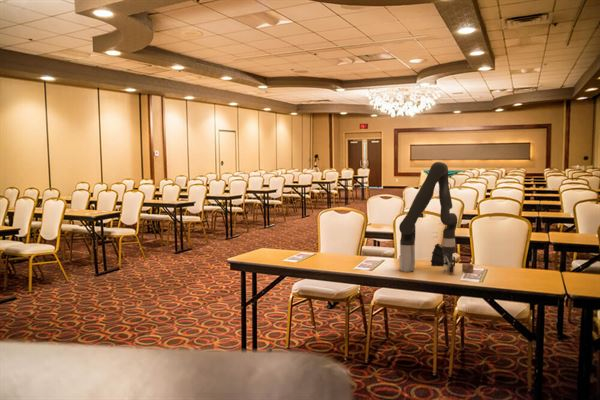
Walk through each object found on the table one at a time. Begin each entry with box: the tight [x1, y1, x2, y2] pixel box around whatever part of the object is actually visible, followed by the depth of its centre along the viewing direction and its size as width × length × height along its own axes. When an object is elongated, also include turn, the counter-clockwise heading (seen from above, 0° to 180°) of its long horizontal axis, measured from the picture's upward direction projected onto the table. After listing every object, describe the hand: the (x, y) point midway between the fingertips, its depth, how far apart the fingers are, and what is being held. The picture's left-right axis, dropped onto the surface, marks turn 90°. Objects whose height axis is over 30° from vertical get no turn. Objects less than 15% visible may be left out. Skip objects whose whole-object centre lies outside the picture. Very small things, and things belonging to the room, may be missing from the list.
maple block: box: [443, 264, 455, 275], centre depth 300 cm, size 5×5×5 cm
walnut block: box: [461, 263, 474, 274], centre depth 301 cm, size 5×5×5 cm
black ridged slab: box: [430, 243, 445, 267], centre depth 326 cm, size 4×13×15 cm, turn 54°
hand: (448, 271), depth 301 cm, fingers open, 8 cm apart
